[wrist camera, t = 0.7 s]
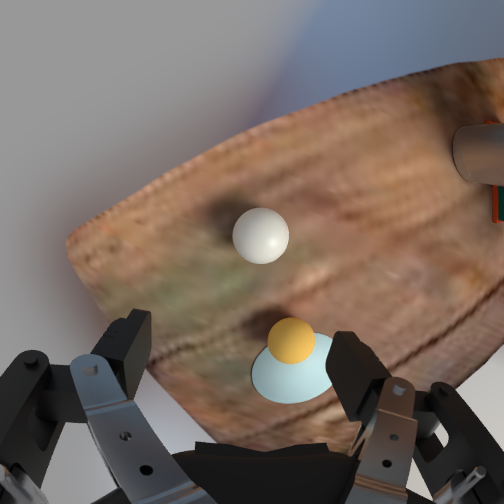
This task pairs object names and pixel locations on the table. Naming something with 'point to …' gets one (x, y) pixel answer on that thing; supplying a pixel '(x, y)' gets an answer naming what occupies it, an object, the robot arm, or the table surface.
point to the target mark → (293, 375)
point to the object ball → (291, 340)
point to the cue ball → (260, 235)
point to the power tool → (497, 197)
